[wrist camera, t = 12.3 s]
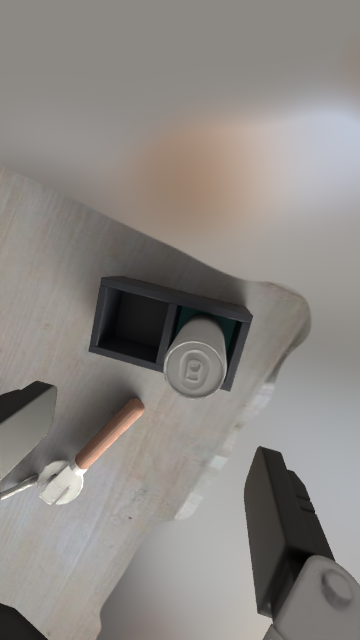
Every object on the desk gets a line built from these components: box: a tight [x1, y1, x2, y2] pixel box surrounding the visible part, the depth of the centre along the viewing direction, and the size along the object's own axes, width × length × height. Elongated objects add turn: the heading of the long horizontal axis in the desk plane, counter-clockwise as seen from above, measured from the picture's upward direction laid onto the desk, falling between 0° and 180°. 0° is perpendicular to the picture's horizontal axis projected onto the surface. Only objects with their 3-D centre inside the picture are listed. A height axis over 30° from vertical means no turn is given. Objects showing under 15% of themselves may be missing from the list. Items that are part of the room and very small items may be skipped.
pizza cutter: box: [37, 398, 145, 505], centre depth 36 cm, size 20×6×3 cm, turn 137°
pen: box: [0, 475, 39, 500], centre depth 40 cm, size 1×14×1 cm, turn 121°
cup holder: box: [89, 276, 253, 392], centre depth 30 cm, size 8×15×6 cm, turn 76°
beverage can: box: [163, 314, 227, 400], centre depth 25 cm, size 5×5×12 cm
